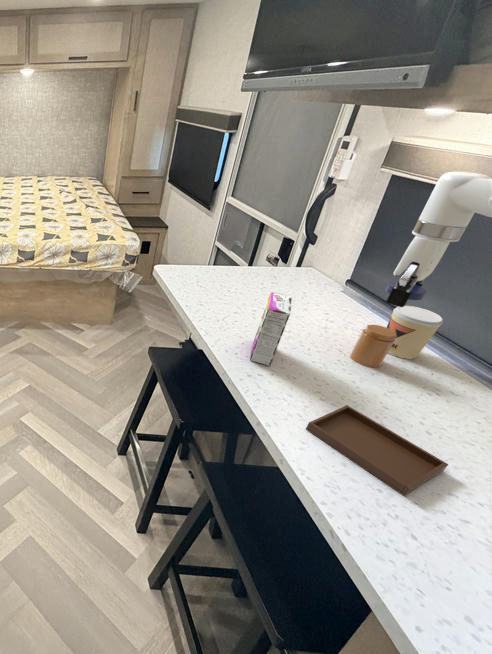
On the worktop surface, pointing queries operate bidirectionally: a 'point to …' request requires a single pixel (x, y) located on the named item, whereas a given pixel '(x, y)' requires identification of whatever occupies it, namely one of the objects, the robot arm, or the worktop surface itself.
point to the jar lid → (416, 294)
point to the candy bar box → (271, 328)
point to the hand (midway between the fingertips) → (400, 299)
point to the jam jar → (373, 345)
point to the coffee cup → (412, 330)
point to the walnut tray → (377, 449)
